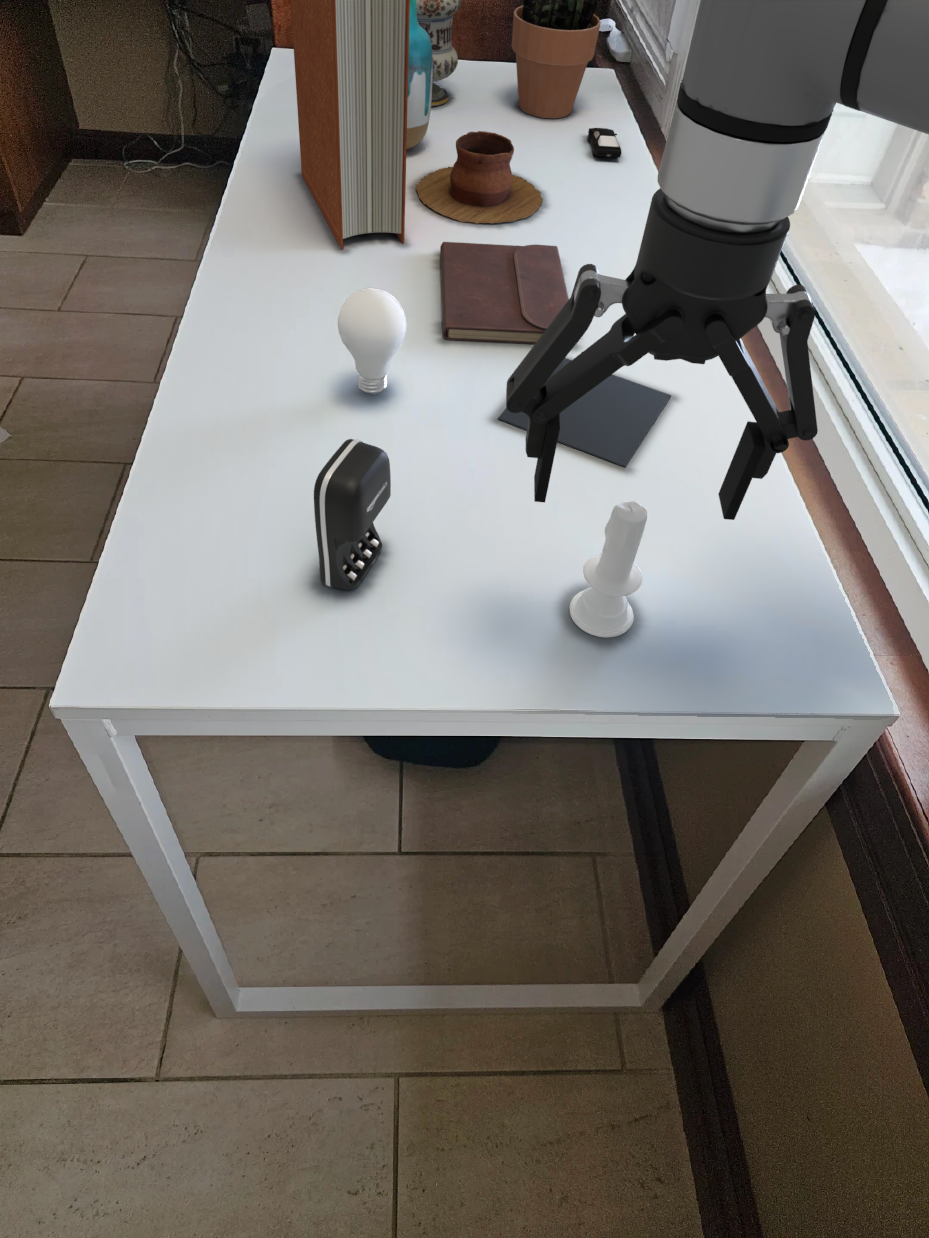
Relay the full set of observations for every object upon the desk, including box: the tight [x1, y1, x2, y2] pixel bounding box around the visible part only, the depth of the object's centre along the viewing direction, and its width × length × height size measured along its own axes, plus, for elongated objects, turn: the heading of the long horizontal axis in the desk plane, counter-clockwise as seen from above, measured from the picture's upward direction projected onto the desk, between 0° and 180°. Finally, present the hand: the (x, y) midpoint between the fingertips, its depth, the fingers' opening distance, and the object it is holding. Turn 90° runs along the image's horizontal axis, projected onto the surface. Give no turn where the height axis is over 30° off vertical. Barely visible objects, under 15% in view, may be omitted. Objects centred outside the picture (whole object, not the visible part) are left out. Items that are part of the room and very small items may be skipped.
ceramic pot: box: [415, 130, 543, 225], centre depth 119 cm, size 18×18×7 cm
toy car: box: [587, 127, 622, 158], centre depth 134 cm, size 10×4×3 cm, turn 3°
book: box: [290, 0, 410, 251], centre depth 105 cm, size 23×8×30 cm, turn 20°
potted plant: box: [511, 0, 602, 120], centre depth 135 cm, size 14×14×25 cm
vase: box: [406, 0, 433, 150], centre depth 123 cm, size 11×11×19 cm
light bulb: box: [337, 287, 408, 395], centre depth 85 cm, size 7×7×11 cm
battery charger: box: [313, 438, 392, 591], centre depth 69 cm, size 7×4×11 cm, turn 158°
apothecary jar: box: [416, 0, 463, 108], centre depth 137 cm, size 12×12×18 cm
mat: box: [497, 357, 672, 468], centre depth 91 cm, size 14×14×1 cm
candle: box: [569, 500, 648, 638], centre depth 67 cm, size 5×5×12 cm
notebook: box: [439, 241, 570, 345], centre depth 103 cm, size 15×20×2 cm
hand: (633, 498), depth 62 cm, fingers open, 13 cm apart
